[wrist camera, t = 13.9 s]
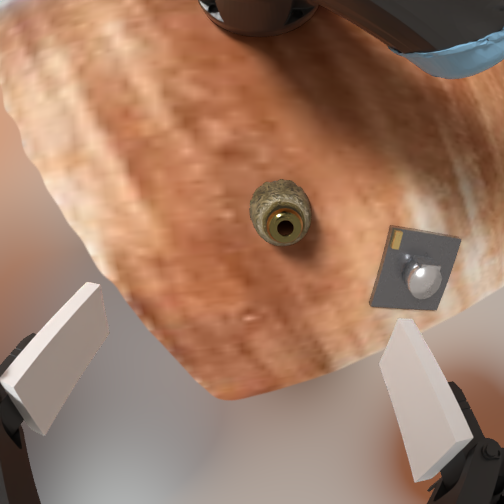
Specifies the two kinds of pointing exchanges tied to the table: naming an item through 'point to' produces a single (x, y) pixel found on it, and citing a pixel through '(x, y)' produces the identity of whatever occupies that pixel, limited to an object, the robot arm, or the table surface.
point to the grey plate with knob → (414, 269)
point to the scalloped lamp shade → (280, 211)
